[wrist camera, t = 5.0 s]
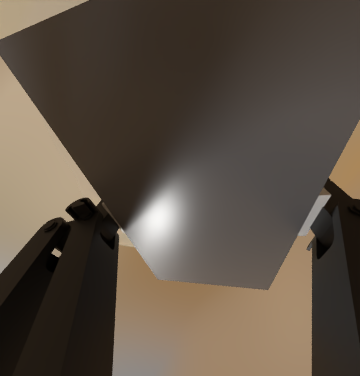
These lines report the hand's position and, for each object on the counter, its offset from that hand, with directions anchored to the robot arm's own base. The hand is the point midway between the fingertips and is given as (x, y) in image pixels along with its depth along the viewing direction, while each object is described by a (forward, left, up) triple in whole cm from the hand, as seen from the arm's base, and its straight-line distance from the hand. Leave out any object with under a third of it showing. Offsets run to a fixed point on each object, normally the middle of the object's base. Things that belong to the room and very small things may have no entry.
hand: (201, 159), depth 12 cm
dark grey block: (0, 0, -2) cm, 2 cm away
